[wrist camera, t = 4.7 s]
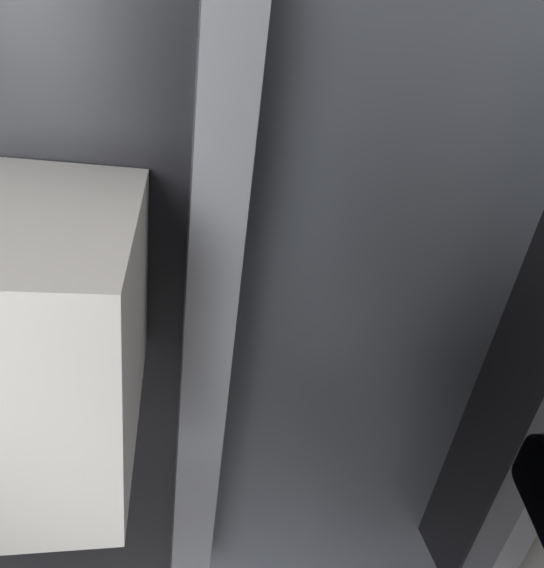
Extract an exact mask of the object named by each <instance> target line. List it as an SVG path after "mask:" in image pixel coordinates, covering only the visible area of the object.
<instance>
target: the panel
mask: <svg viewBox="0 0 544 568" xmlns="http://www.w3.org/2000/svg"><path fill="white" fill-rule="evenodd" d="M0 157H9V158H21V159H33V160H45V161H57V162H69V163H81V164H93V165H106V166H118V167H130V168H142V169H149V202H148V280H147V343H146V352H145V362H144V371H143V380H142V389H141V399H140V408H139V417H138V426H137V436H136V445H135V454H134V463H133V472H132V482H131V491H130V500H129V509H128V519H127V528H126V537H125V546H124V547H116V548H102V549H88V550H74V551H60V552H46V553H32V554H18V555H4V556H0V568H519V566H520V565H521V563H522V561H523V559H524V558H525V556H526V554H527V552H528V551H529V549H530V547H531V545H532V543H533V542H534V540H535V538H536V536H537V533H536V531H535V528H534V526H533V524H532V522H531V519H530V517H529V515H528V513H527V510H526V508H525V506H524V504H523V501H522V499H521V497H520V494H519V492H518V490H517V488H516V485H515V483H514V481H513V478H512V474H511V468H512V464H513V462H514V460H515V457H516V455H517V453H518V451H519V449H520V447H521V445H522V443H523V441H524V439H525V438H526V437H527V436H528V435H530V434H543V433H544V0H0Z"/></svg>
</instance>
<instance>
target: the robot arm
mask: <svg viewBox="0 0 544 568" xmlns="http://www.w3.org/2000/svg"><path fill="white" fill-rule="evenodd" d="M511 474H512V478H513V481H514V483H515V485H516V488H517V490H518V492H519V494H520V497H521V499H522V501H523V504H524V506H525V508H526V510H527V513H528V515H529V517H530V519H531V522H532V524H533V526H534V528H535V531H536V533H537V535H538V537H539V540H540V542H541V544H542V546H543V549H544V433H543V434H530V435H528V436H527V437H526V438H525V439H524V441H523V443H522V445H521V447H520V449H519V451H518V453H517V455H516V457H515V460H514V462H513V464H512V468H511Z"/></svg>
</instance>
